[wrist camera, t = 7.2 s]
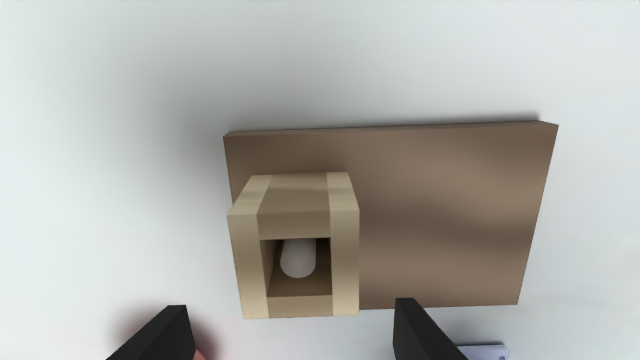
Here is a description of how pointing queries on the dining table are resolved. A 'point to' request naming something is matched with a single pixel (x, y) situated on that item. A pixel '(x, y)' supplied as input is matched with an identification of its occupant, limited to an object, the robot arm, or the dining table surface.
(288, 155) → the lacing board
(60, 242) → the dining table surface
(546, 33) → the dining table surface
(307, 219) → the open-ended tan box
